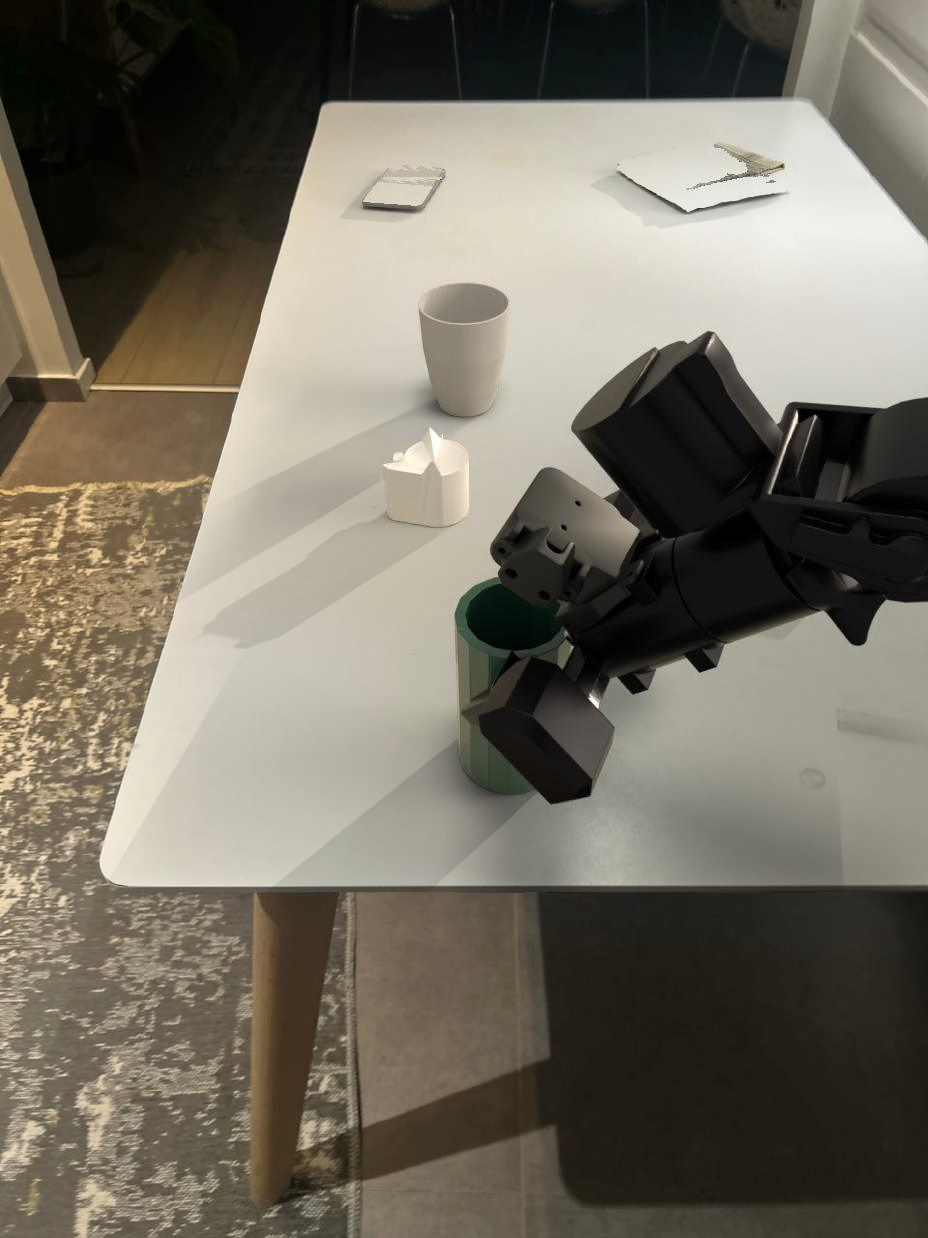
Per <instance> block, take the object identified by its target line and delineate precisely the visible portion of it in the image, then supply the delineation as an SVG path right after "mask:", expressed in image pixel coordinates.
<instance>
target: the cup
mask: <svg viewBox="0 0 928 1238" xmlns="http://www.w3.org/2000/svg"><path fill="white" fill-rule="evenodd" d="M417 307H418V316H419V325H420V333H421V343H422V344H421V345H422V350H423V355H424V359H425V364H426V367H427V373H428V377H429V381H430V385H431V388H432V390H433V393H434V395H435V397H436V400H437V403H438V405H439V407H440V409H441V410H442V411H443V412H444V413H446V414H448V415H451V416H455V417H459V418H461V417H462V418H467V417H476V416H479V415H482V414H484V413H486V412H487V411H489V410H490V409H491V407H492V405H493V403H494V400H495V396H496V393H497V391H498V388H499V386H500V383H501V379H502V374H503V369H504V363H505V359H506V353H507V348H508V337H509V329H510V328H509V327H510V316H511V315H510V314H511V298H510V297H509V295H508V294H507V293H506V292H504V291H503V290H501V289H499V288H497V287H495V286H493V285H489V284H486V283H480V282H469V281H468V282H467V281H462V282H461V281H460V282H452V283H451V282H450V283H446V284H440V285H437V286H435V287H433V288H430V289H429V290H427V291H425V292H424V293H423V294H422V295H421V296H420V297H419V299H418V302H417Z"/></svg>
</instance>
